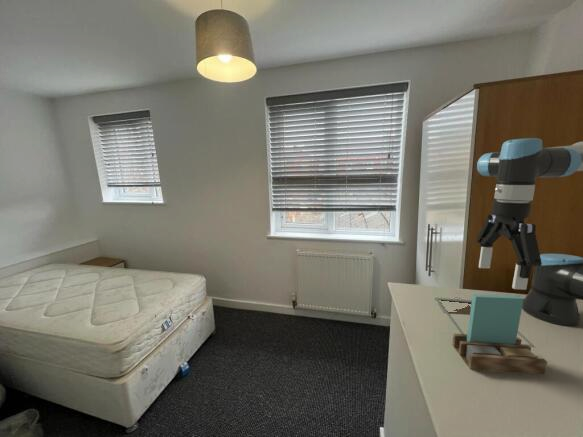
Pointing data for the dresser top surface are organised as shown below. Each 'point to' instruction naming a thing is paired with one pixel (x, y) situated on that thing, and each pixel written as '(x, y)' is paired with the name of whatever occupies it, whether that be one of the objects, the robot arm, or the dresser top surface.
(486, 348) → the offcut charcoal
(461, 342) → the rack
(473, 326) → the teal rectangular slab
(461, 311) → the framed cork board
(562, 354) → the dresser top surface
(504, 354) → the offcut oak
